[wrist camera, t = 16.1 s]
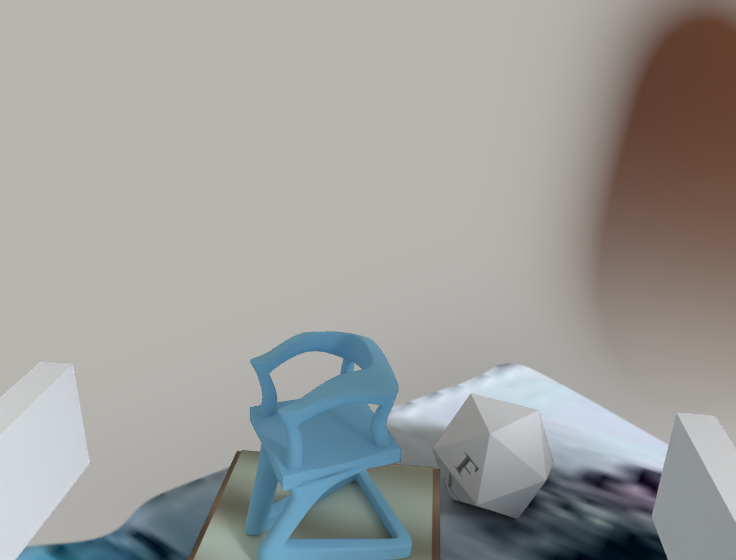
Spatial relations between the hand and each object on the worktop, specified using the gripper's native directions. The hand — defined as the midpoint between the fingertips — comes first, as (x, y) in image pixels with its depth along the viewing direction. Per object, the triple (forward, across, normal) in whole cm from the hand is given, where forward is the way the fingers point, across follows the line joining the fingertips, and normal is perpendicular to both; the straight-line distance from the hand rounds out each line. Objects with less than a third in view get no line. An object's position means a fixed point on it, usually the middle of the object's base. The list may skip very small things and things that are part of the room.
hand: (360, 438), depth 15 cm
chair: (+18, -4, -20) cm, 27 cm away
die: (+29, +7, -26) cm, 40 cm away
